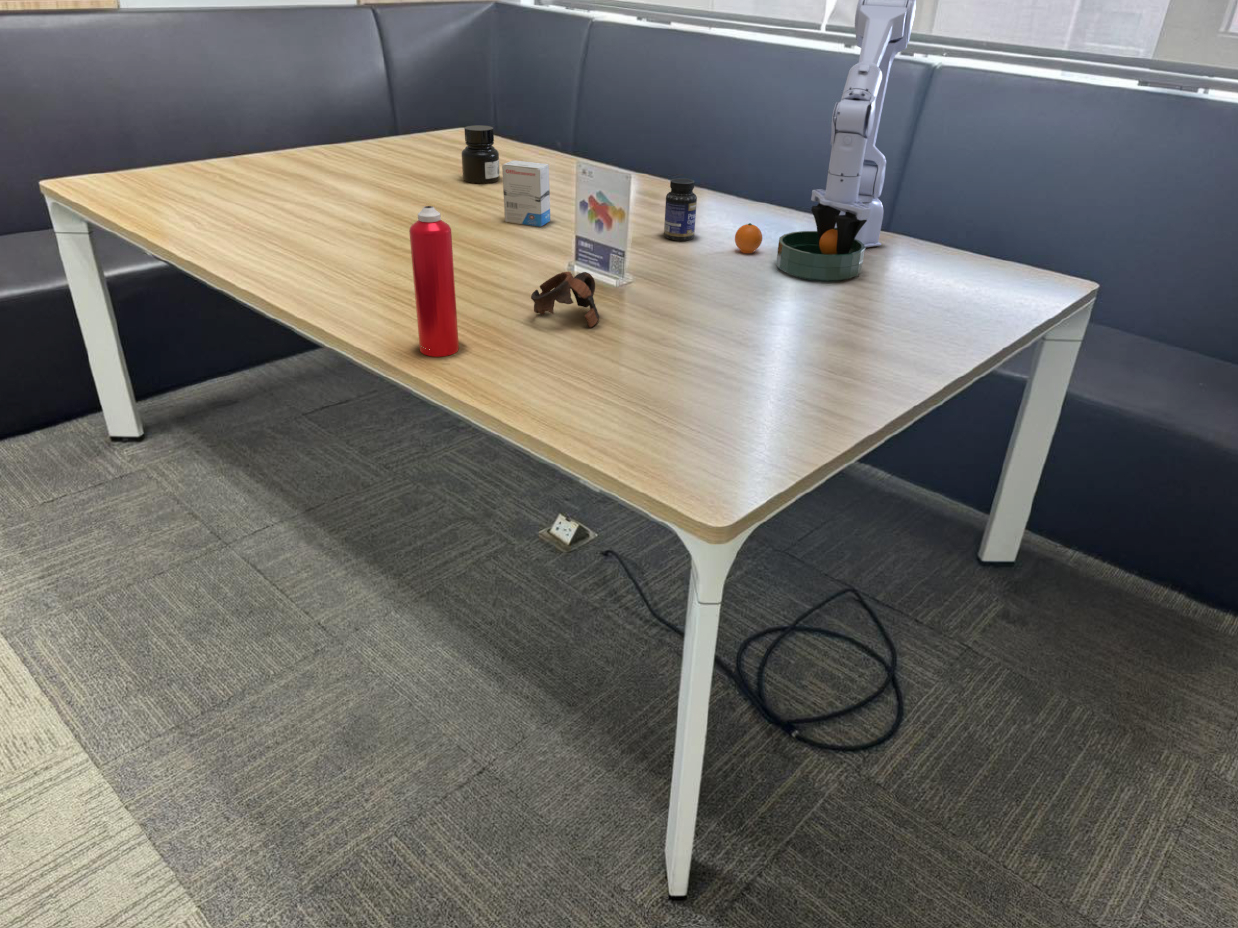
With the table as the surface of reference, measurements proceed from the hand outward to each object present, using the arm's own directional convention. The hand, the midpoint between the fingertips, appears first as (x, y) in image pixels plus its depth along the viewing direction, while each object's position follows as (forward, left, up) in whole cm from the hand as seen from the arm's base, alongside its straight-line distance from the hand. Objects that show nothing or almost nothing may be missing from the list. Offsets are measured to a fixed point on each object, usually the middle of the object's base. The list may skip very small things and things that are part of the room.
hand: (833, 250), depth 163 cm
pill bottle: (+17, -27, -4) cm, 32 cm away
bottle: (+76, +12, -4) cm, 77 cm away
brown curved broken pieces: (+54, +7, -4) cm, 55 cm away
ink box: (+42, -47, -4) cm, 63 cm away
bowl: (+3, 0, -3) cm, 4 cm away
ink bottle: (+40, -86, -4) cm, 95 cm away
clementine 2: (0, 0, -1) cm, 1 cm away
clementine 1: (+9, -14, -3) cm, 17 cm away
